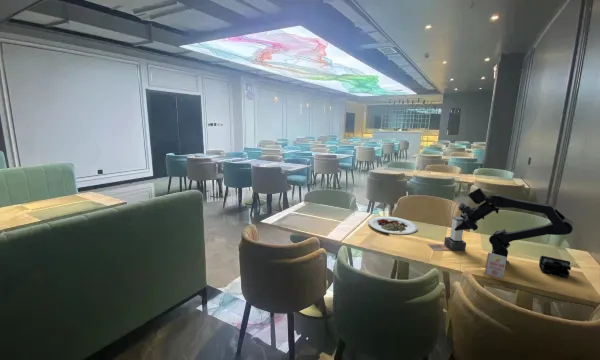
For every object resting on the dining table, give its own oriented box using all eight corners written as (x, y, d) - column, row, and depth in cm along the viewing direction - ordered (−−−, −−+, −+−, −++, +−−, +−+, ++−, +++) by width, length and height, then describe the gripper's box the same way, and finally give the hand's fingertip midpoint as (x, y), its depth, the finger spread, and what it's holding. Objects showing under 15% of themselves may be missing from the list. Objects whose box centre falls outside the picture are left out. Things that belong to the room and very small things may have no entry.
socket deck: (465, 252, 148) (467, 243, 147) (433, 252, 148) (434, 242, 147) (457, 246, 156) (458, 236, 155) (426, 245, 156) (428, 236, 155)
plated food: (415, 240, 163) (415, 235, 162) (363, 230, 175) (363, 225, 175) (418, 223, 189) (418, 219, 188) (373, 216, 202) (373, 211, 201)
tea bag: (485, 270, 131) (488, 251, 129) (502, 275, 127) (506, 255, 125) (484, 274, 128) (488, 254, 126) (502, 279, 124) (506, 258, 122)
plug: (461, 240, 149) (464, 219, 146) (454, 240, 149) (457, 219, 146) (457, 237, 153) (460, 216, 150) (450, 237, 153) (453, 216, 150)
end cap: (565, 272, 132) (568, 259, 130) (569, 279, 126) (573, 265, 124) (537, 266, 137) (540, 253, 135) (540, 272, 131) (543, 259, 129)
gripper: (467, 194, 153) (442, 211, 159) (473, 204, 136) (445, 222, 142) (482, 210, 152) (456, 226, 158) (490, 222, 135) (460, 239, 141)
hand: (454, 228), depth 150 cm, fingers closed on plug, 5 cm apart
